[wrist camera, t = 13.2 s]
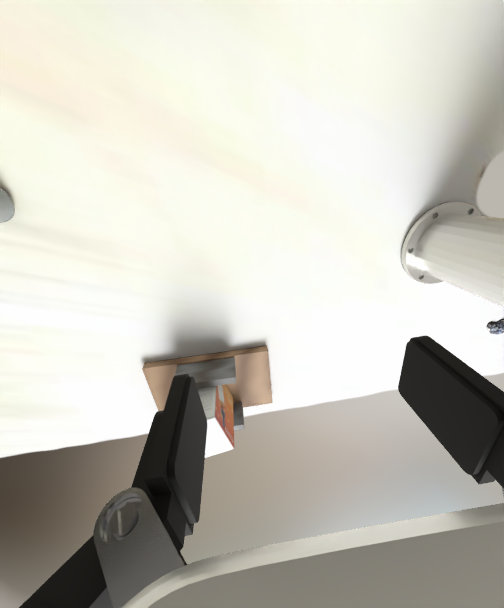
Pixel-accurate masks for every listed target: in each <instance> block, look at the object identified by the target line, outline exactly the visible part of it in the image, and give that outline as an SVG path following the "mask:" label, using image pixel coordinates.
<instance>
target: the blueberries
mask: <svg viewBox="0 0 504 608" xmlns="http://www.w3.org/2000/svg"><path fill="white" fill-rule="evenodd" d="M487 327H488V330H489V331H490V333H493V334H501V333H503V332H504V319H501V320H499V321H497V322H493V321H491V322H489V323H488V324H487Z"/></svg>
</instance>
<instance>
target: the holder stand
mask: <svg viewBox="0 0 504 608" xmlns="http://www.w3.org/2000/svg"><path fill="white" fill-rule="evenodd" d="M142 369H143V372H144V375H145V377H146V380H147V382H148V385H149V387H150V390H151V392H152V395H153V398H154V400H155V403H156V405H157V408H158V410H159V411H163V410H164V407H165V404H166V400H167V397H168V394H169V390H170V387H171V383H172V380H173V377H174V376H176V375H182V374H189V376H190V377H192V376H193V377H194V379H195V383H196V386H197V389H198V388H204V387H211V386H218V385H225V384H226V385H227V387H228V389H229V391H230V393H231V394H232V396H233V416H234V431H235V430H241V429H244V418H243V407H249V406H256V405H262V404H269V403H272V392H271V381H270V369H269V358H268V349H267V346H262V347H255V348H248V349H241V350H234V351H227V352H220V353H213V354H206V355H199V356H192V357H185V358H177V359H170V360H163V361H156V362H149V363H145V364H144V366H143V368H142Z"/></svg>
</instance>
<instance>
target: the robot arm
mask: <svg viewBox="0 0 504 608" xmlns="http://www.w3.org/2000/svg"><path fill="white" fill-rule="evenodd" d="M401 259H402V265H403V267H404V270H405V271H406V273H407V274H408V275H409V276H410V277H411V278H413V279H415V280H417V281H419V282H422V283H428V284H433V283H439V282H442V281H444V282H447V283H449V284H451V285H454V286H456V287H458V288H461V289H463V290H465V291H468V292H470V293H472V294H475V295H477V296H479V297H482V298H484V299H486V300H489V301H491V302H493V303H496V304H498V305H500V306H503V307H504V219H503V218H494V217H485V216H482V214H481V212H480V211H479V210H478V209H477V208H476V207H475V206H473V205H471V204H469V203H464V202H448V203H444V204H441V205H438V206H436V207H434V208H433V209H431V210H429V211H428V212H427V213H425V214H424V215H423V216H422V217H421V218H420V219H419V220H417V222H416V223H415V224H414V225H413V227H412V228H411V229H410V231H409V233H408V235H407V236H406V239H405V241H404V244H403V248H402V258H401ZM398 389H399V392H400V394H401V396H402V397H403V398H404V399H405V401H406V402H407V403H408V404H409V405H410V407H411V408H412V409H413V410H414V412H415V413H416V414H417V415H418V416H419V418H420V419H421V420H422V421H423V422H424V423H425V424H426V426H427V427H428V428H429V429H430V431H431V432H432V433H433V434H434V435H435V437H436V438H437V439H438V440H439V442H440V443H441V444H442V445H443V446H444V448H445V449H446V450H447V451H448V452H449V453H450V455H451V456H452V457H453V458H454V460H455V461H456V462H457V463H458V464H459V465H460V467H461V468H462V469H463V470H464V471H465V472H466V473H467V474H470V475H472V477H473V478H474V479H475V480H476V481H477V482H478V484H483V483H488V482H493V481H495V480H496V481H497V482H498V483H499V484H500V485H501V486H502V490H503V497H504V392H503V391H501V390H500V389H499V388H498V387H496V386H495V385H493V384H492V383H491V382H489V381H488V380H487V379H485V378H484V377H483V376H481V375H480V374H479V373H477V372H476V371H475V370H473V369H472V368H471V367H469V366H468V365H466V364H465V363H464V362H462V361H461V360H460V359H458V358H457V357H456V356H454V355H453V354H452V353H450V352H449V351H448V350H446V349H445V348H444V347H442V346H441V345H440V344H438V343H437V342H435V341H434V340H433V339H431V338H430V337H428V336H421V337H414V338H411V339H410V341H409V342H408V343H407V345H406V350H405V356H404V361H403V366H402V371H401V376H400V381H399V386H398ZM206 436H207V418H206V415H205V412H204V409H203V405H202V402H201V399H200V396H199V392H198V389H197V386H196V383H195V379H194V377H193V376H192V377H190V376H189V374H182V375H176V376H174V377H173V380H172V383H171V387H170V390H169V394H168V397H167V400H166V404H165V407H164V410H163V411H158V412H157V413H156V414H155V416H154V419H153V422H152V425H151V428H150V432H149V435H148V438H147V441H146V444H145V447H144V450H143V453H142V456H141V460H140V462H139V465H138V469H137V472H136V475H135V478H134V481H133V484H132V487H131V488H128V489H126V490H123V491H121V492H120V493H118V494H117V495H115V496H114V497H113V498H112V499H111V500H110V501H109V502H108V503H107V504H106V505H105V507H104V508H103V509H102V511H101V512H100V514H99V516H98V519H97V520H96V523H95V527H94V531H93V536H92V537H91V538H90V539H89V540H88V541H87V542H86V543H85V544H84V545H83V546H82V547H81V548H80V549H79V550H78V551H77V552H76V553H75V554H74V555H73V556H72V557H71V558H70V559H69V560H67V561H66V563H64V565H62V566H61V567H60V568H59V569H58V570H57V571H56V572H55V573H54V574H53V575H52V576H51V577H50V578H49V579H48V580H47V581H46V582H45V583H44V584H43V585H42V586H41V587H40V588H39V589H38V590H37V591H36V592H35V593H34V594H33V595H32V596H31V597H30V598H29V599H28V600H27V601H26V602H24V603H23V605H21V606H20V607H19V608H504V503H502V504H496V505H490V506H485V507H478V508H472V509H467V510H461V511H455V512H449V513H443V514H437V515H432V516H426V517H420V518H415V519H409V520H404V521H398V522H392V523H387V524H381V525H375V526H370V527H364V528H358V529H353V530H347V531H342V532H336V533H331V534H325V535H320V536H314V537H309V538H304V539H298V540H293V541H287V542H282V543H276V544H271V545H266V546H261V547H257V548H251V549H246V550H242V551H237V552H232V553H227V554H222V555H219V556H215V557H211V558H207V559H204V560H200V561H196V562H193V563H191V564H188V565H187V563H186V561H185V560H184V558H183V556H182V555H181V552H180V550H181V549H182V548H183V544H184V537H185V536H186V535H192V534H193V526H194V523H197V522H198V521H199V515H200V504H201V493H202V481H203V470H204V459H205V448H206Z"/></svg>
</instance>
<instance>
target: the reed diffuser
mask: <svg viewBox="0 0 504 608" xmlns="http://www.w3.org/2000/svg"><path fill="white" fill-rule="evenodd" d="M14 211H15V208H14V204H13V201H12V200H11V198H10V196H9V195H8V194H7V193H6V192H5V191H4V190H3V189H1V188H0V223H2V222H6V221H9V220H10V219H11V218H12V217H13V215H14Z"/></svg>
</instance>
